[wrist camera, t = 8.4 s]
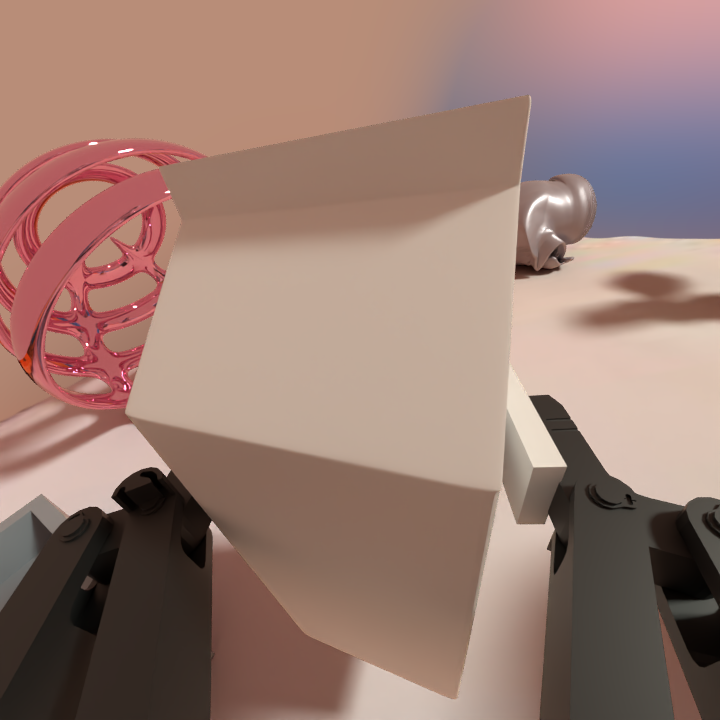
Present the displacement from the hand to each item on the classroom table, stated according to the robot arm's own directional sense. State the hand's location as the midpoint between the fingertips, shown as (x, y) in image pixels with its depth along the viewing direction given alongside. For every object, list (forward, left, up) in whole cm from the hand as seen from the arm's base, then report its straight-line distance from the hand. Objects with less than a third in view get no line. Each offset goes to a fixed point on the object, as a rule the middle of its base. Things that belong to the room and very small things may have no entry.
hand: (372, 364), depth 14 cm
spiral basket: (-8, -30, -16) cm, 35 cm away
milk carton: (+4, +2, -11) cm, 12 cm away
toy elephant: (-61, +1, -16) cm, 63 cm away
